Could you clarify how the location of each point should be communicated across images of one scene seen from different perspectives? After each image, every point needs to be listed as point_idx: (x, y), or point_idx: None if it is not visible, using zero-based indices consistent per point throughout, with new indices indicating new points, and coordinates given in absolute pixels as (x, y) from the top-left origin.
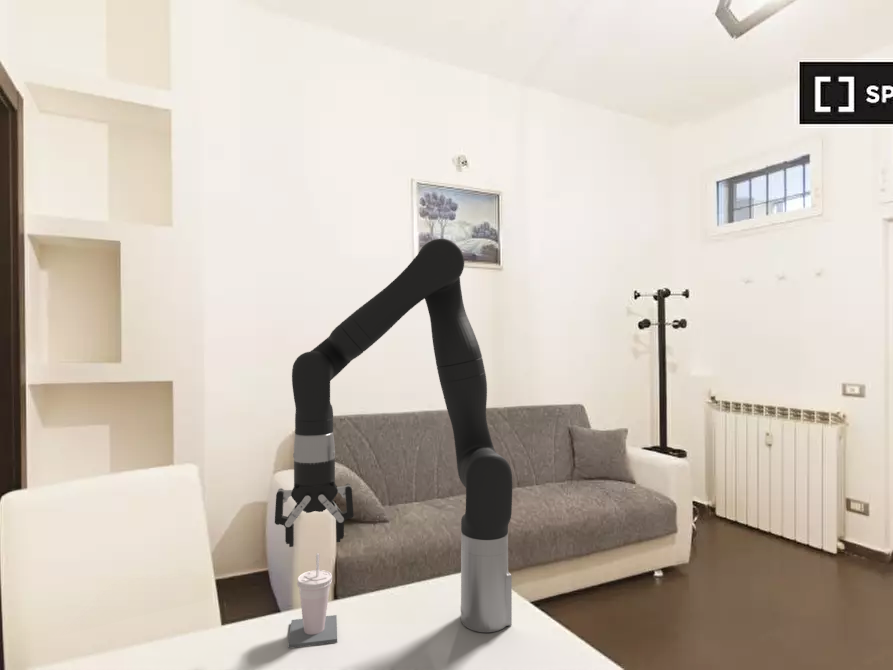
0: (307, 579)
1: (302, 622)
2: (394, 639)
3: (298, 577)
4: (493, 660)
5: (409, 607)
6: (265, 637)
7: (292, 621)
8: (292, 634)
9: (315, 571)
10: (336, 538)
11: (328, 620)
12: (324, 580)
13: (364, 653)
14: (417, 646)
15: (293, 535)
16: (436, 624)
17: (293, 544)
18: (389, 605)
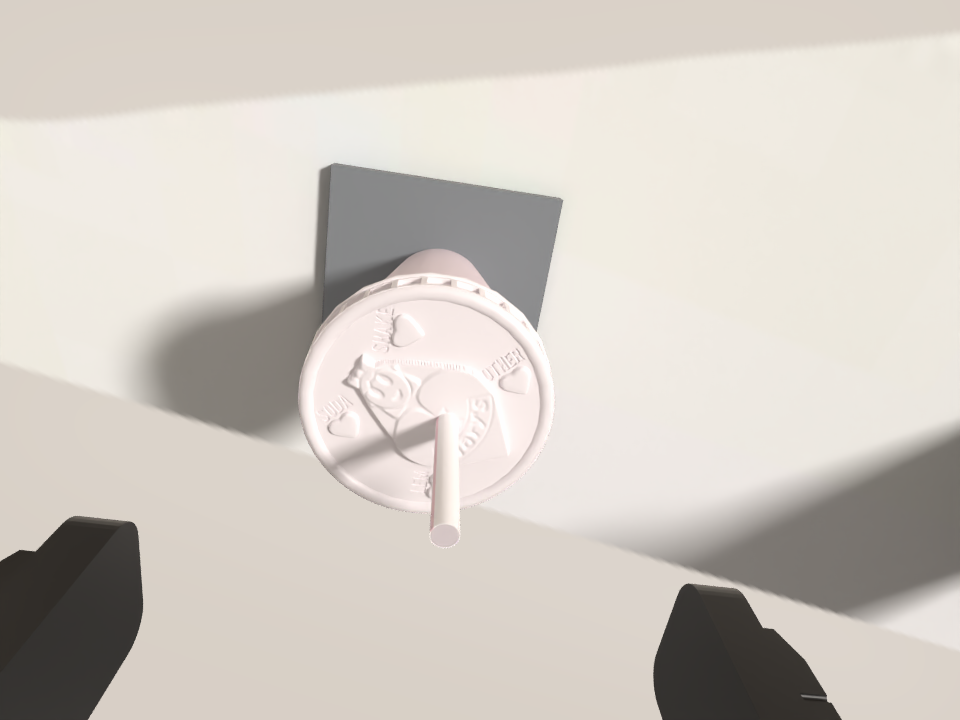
0: (372, 422)
1: (386, 213)
2: (734, 449)
3: (304, 379)
4: (949, 638)
5: (926, 227)
6: (214, 252)
7: (336, 181)
8: (336, 305)
9: (444, 309)
10: (673, 674)
11: (514, 240)
12: (488, 474)
13: (599, 493)
14: (787, 513)
15: (63, 679)
16: (936, 407)
17: (134, 581)
18: (851, 167)
